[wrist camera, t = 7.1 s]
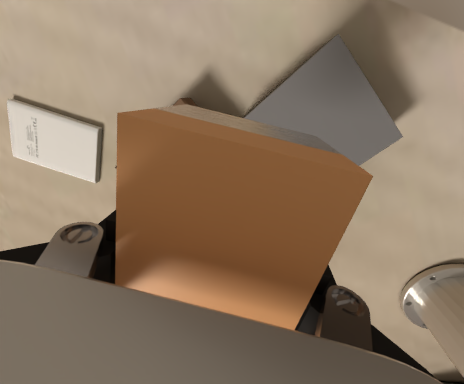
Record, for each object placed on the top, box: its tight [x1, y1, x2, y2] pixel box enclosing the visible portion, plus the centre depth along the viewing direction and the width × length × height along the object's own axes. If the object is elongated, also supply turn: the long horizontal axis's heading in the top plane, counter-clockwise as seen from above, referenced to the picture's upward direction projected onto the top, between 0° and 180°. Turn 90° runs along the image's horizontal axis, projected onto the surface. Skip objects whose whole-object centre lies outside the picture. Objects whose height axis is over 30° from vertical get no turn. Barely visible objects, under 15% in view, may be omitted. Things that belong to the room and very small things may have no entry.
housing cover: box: [115, 108, 373, 330], centre depth 8 cm, size 10×6×2 cm, turn 167°
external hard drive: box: [7, 99, 102, 183], centre depth 32 cm, size 2×8×12 cm
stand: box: [244, 34, 403, 166], centre depth 26 cm, size 12×12×4 cm
